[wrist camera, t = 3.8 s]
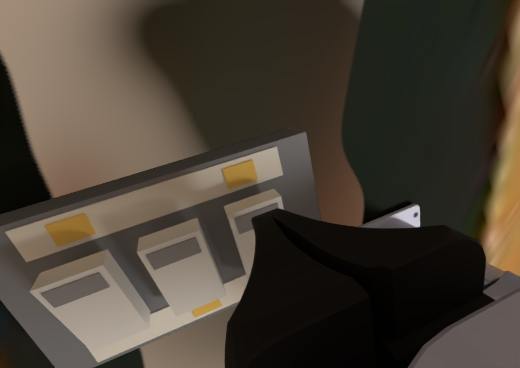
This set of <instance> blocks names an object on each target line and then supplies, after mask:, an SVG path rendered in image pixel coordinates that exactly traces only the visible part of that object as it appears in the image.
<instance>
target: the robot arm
mask: <svg viewBox="0 0 520 368" xmlns="http://www.w3.org/2000/svg"><path fill="white" fill-rule="evenodd" d="M251 222H252V226H253V229H254V233H255V253H254V260H253V265H252V269H251V273H250V276H249V280H248V283H247V285H246V288H245V290H244V292H243V295H242V297H241V300H240V302H239V304H238V306H237V307H236V309H235V311H234V313H233V315H232V316H231V318H230V320H229V321H228V323H227V331H226V332H227V333H226V343H225V368H520V276H518V275H516V274H514V273H512V272H510V271H505V272H504V271H502V270H500V269H498V268H496V267H494V266H492V265H490V264H488V263H486V256H485V253H484V251H483V248H482V245H481V244H480V243H479V242H478V241H477V240H476V239H474V238H472V237H470V236H467V235H465V234H463V233H461V232H459V231H456V230H454V229H452V228H450V227H447V226H445V225H437V226H425V227H420V208H419V206H418V205H416V204H411V205H409V206H407V207H404V208H402V209H399V210H397V211H394V212H392V213H390V214H387V215H385V216H382V217H380V218H377V219H375V220H373V221H370V222H368V223H365V224H363V225H360V226H358V227H353V226H345V225H338V224H332V223H327V222H323V221H319V220H315V219H311V218H308V217H304V216H301V215H298V214H295V213H292V212H289V211H286V210H283V209H279V208H276V209H274V210H271V211H268V212H265V213H263V214H260V215H257V216H254V217H252V219H251Z"/></svg>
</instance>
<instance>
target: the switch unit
mask: <svg viewBox="0 0 520 368" xmlns="http://www.w3.org/2000/svg"><path fill="white" fill-rule="evenodd" d="M271 189H275V190H276V191H277V192H278V193H279V194H280V195H281V198H282V203H283V208H284V210H286V211H289V212H292V213H295V214H298V215H301V216H304V217H308V218H311V219H315V220H319V221H321V215H320V209H319V204H318V198H317V193H316V187H315V181H314V175H313V169H312V164H311V158H310V152H309V147H308V142H307V136H306V132H304V131H299V130H293V129H288V128H286V129H282V130H279V131H276V132H273V133H269V134H266V135H262V136H259V137H256V138H253V139H249V140H246V141H243V142H239V143H236V144H232V145H229V146H226V147H223V148H219V149H216V150H213V151H209V152H206V153H203V154H199V155H196V156H193V157H189V158H186V159H183V160H179V161H176V162H173V163H169V164H166V165H163V166H159V167H156V168H153V169H149V170H146V171H143V172H140V173H136V174H133V175H130V176H126V177H123V178H120V179H117V180H113V181H110V182H106V183H103V184H100V185H97V186H93V187H90V188H86V189H84V190H80V191H77V192H73V193H70V194H67V195H63V196H60V197H57V198H53V199H50V200H47V201H43V202H40V203H37V204H33V205H30V206H27V207H23V208H20V209H17V210H13V211H10V212H7V213H3V214H0V300H1V301H2V302H3V304H4V305H5V306H6V307H7V309H8V310H9V311H10V312H11V313H12V315H13V316H14V317H15V318H16V320H17V321H18V322H19V323H20V325H21V326H22V327H23V328H24V329H25V331H26V332H27V333H28V334H29V336H30V337H31V338H32V339H33V341H34V342H35V343H36V344H37V345H38V347H39V348H40V349H41V350H42V352H43V353H44V354H45V355H46V357H47V358H48V359H49V360H50V361H51V363H52V364H53V365H54V366H55V368H93V367H96V366H98V365H100V364H103V363H105V362H107V361H109V360H112V359H114V358H116V357H119V356H121V355H123V354H126V353H128V352H130V351H132V350H135V349H137V348H139V347H142V346H144V345H146V344H148V343H151V342H153V341H155V340H157V339H160V338H162V337H164V336H167V335H169V334H171V333H173V332H176V331H178V330H180V329H183V328H185V327H187V326H189V325H192V324H194V323H197V322H199V321H201V320H203V319H206V318H208V317H210V316H213V315H215V314H217V313H220V312H222V311H224V310H226V309H228V308H231V307H233V306H236V305H238V304H239V302H240V300H241V297H242V295H243V292H244V290H245V288H246V285H247V283H248V279H247V276H246V273H245V270H244V267H243V264H242V261H241V258H240V255H239V252H238V249H237V246H236V243H235V240H234V236H233V233H232V230H231V227H230V224H229V221H228V218H227V215H226V212H225V209H224V206H225V205H228V204H231V203H234V202H237V201H240V200H243V199H245V198H248V197H251V196H254V195H257V194H260V193H263V192H265V191H268V190H271ZM195 218H198V221H199V223H200V226H201V228H202V231H203V233H204V236H205V238H206V241H207V243H208V246H209V248H210V251H211V253H212V256H213V258H214V261H215V263H216V266H217V268H218V271H219V273H220V276H221V278H222V281H223V284H224V288H225V292H226V296H224V297H222V298H220V299H217V300H215V301H212V302H210V303H208V304H205V305H203V306H201V307H198V308H196V309H194V310H191V311H189V312H187V313H184V314H182V315H180V316H177V317H176V316H175V314H174V312H173V311H172V309H171V308H170V306H169V304H168V303H167V301H166V299H165V298H164V296H163V295H162V293H161V291H160V290H159V288H158V286H157V285H156V283H155V282H154V280H153V278H152V277H151V275H150V273H149V272H148V270H147V269H146V267H145V265H144V264H143V262H142V260H141V259H140V257H139V256H138V254H137V247H138V241H139V238H141V237H144V236H146V235H149V234H152V233H155V232H158V231H161V230H163V229H166V228H169V227H172V226H175V225H178V224H181V223H183V222H186V221H189V220H192V219H195ZM107 249H108V250H109V252H110V253H111V255H112V256H113V258H114V259H115V261H116V262H117V263H118V265H119V266H120V268H121V269H122V271H123V272H124V274H125V275H126V276H127V278H128V279H129V281H130V282H131V284H132V285H133V287H134V288H135V289H136V291H137V292H138V294H139V295H140V297H141V298H142V300H143V301H144V302H145V304H146V305H147V307H148V308H149V310H150V311H151V312H150V328H149V329H147V330H144V331H142V332H139V333H137V334H135V335H132V336H130V337H128V338H125V339H123V340H121V341H118V342H116V343H114V344H111V345H109V346H107V347H104V348H102V349H99V350H97V351H95V352H92V351H91V350H90V349H89V348H88V347H87V346H86V345H85V344H84V343H82V342H81V341H80V340H79V339H78V338H77V337H76V336H75V335H74V334H73V333H72V332H71V331H70V330H69V329H68V328H67V327H66V326H65V325H64V324H63V323H62V322H61V321H60V320H58V319H57V318H56V317H55V316H54V315H53V314H52V313H51V312H50V311H49V310H48V309H47V308H46V307H45V306H44V305H43V304H42V303H41V302H40V301H39V300H38V299H37V298H36V297H34V296H33V295H32V294H31V293H30V292H29V291H30V290H31V288H32V286H33V285H34V283H35V281H36V279H37V278H38V276H39V274H40V273H41V272H44V271H47V270H50V269H53V268H55V267H58V266H61V265H64V264H67V263H70V262H72V261H75V260H78V259H81V258H84V257H87V256H90V255H92V254H95V253H98V252H101V251H104V250H107Z"/></svg>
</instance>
